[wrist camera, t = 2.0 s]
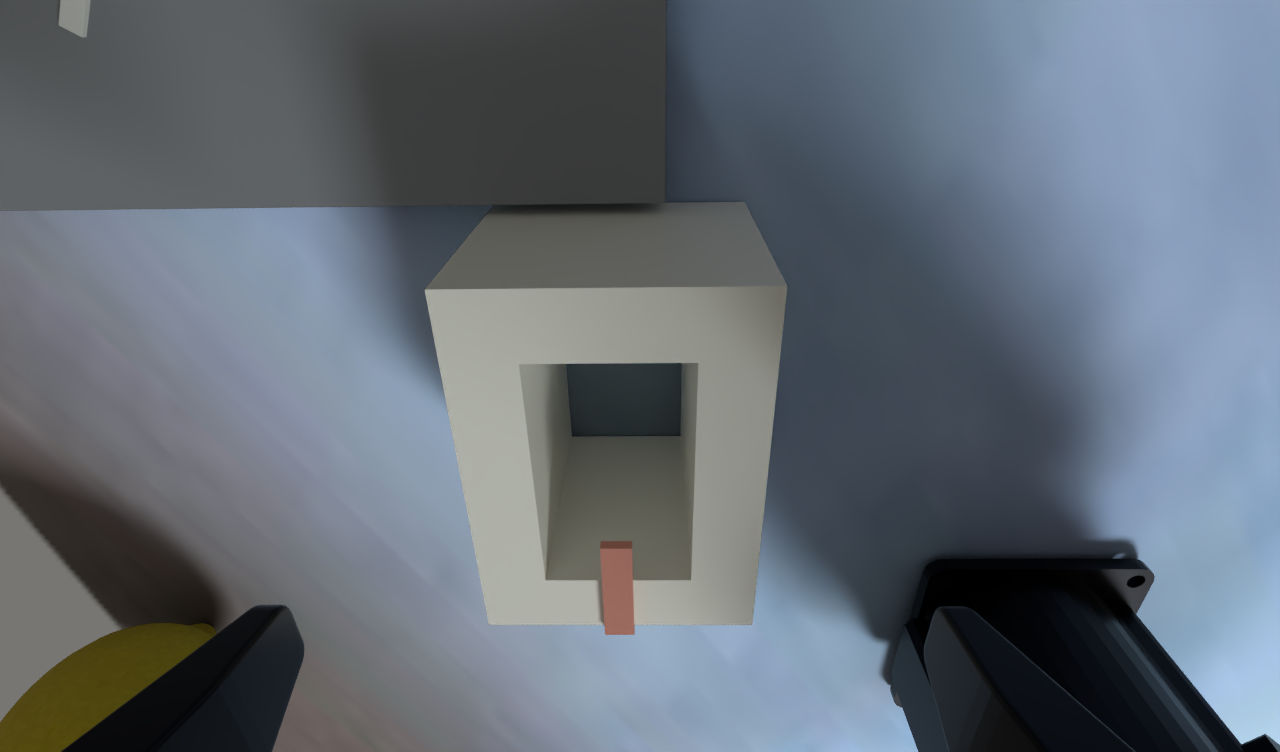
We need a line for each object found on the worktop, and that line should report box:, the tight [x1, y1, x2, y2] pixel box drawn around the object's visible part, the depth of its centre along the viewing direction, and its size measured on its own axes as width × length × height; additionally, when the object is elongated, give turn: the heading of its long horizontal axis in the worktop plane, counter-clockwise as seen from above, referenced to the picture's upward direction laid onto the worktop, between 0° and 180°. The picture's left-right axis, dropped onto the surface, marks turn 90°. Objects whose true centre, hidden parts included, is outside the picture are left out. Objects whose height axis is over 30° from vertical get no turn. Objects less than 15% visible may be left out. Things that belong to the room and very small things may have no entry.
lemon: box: [0, 623, 216, 752], centre depth 18 cm, size 6×6×8 cm
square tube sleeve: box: [424, 202, 788, 635], centre depth 14 cm, size 6×8×5 cm
